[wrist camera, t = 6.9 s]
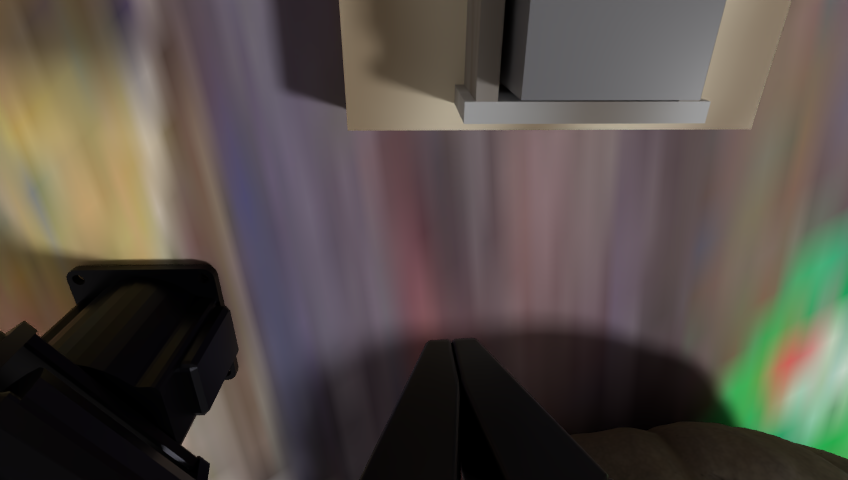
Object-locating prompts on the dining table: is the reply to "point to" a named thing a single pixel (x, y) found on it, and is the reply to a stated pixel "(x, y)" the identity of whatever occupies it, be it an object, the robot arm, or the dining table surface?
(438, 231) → the dining table surface
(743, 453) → the gourd
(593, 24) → the dark grey square block
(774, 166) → the dining table surface
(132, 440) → the robot arm
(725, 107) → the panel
